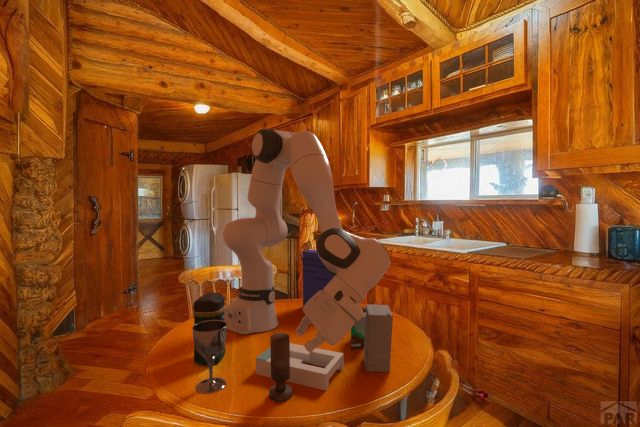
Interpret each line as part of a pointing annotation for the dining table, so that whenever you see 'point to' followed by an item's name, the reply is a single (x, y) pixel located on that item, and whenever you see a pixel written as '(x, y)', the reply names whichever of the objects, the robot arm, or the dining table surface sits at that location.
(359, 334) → the food container
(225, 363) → the dining table surface
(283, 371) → the knob post
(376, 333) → the skincare box
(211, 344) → the wine glass
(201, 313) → the coffee jar
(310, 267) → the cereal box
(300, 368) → the keyhole plate
